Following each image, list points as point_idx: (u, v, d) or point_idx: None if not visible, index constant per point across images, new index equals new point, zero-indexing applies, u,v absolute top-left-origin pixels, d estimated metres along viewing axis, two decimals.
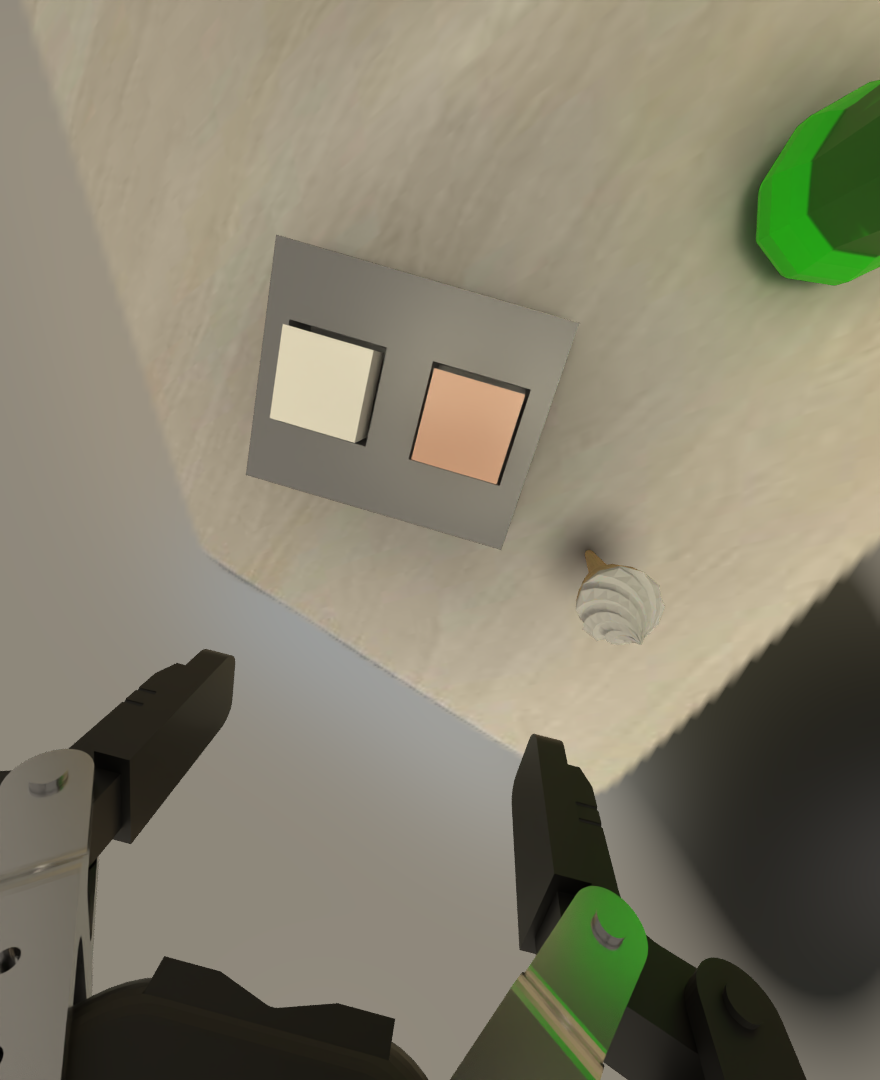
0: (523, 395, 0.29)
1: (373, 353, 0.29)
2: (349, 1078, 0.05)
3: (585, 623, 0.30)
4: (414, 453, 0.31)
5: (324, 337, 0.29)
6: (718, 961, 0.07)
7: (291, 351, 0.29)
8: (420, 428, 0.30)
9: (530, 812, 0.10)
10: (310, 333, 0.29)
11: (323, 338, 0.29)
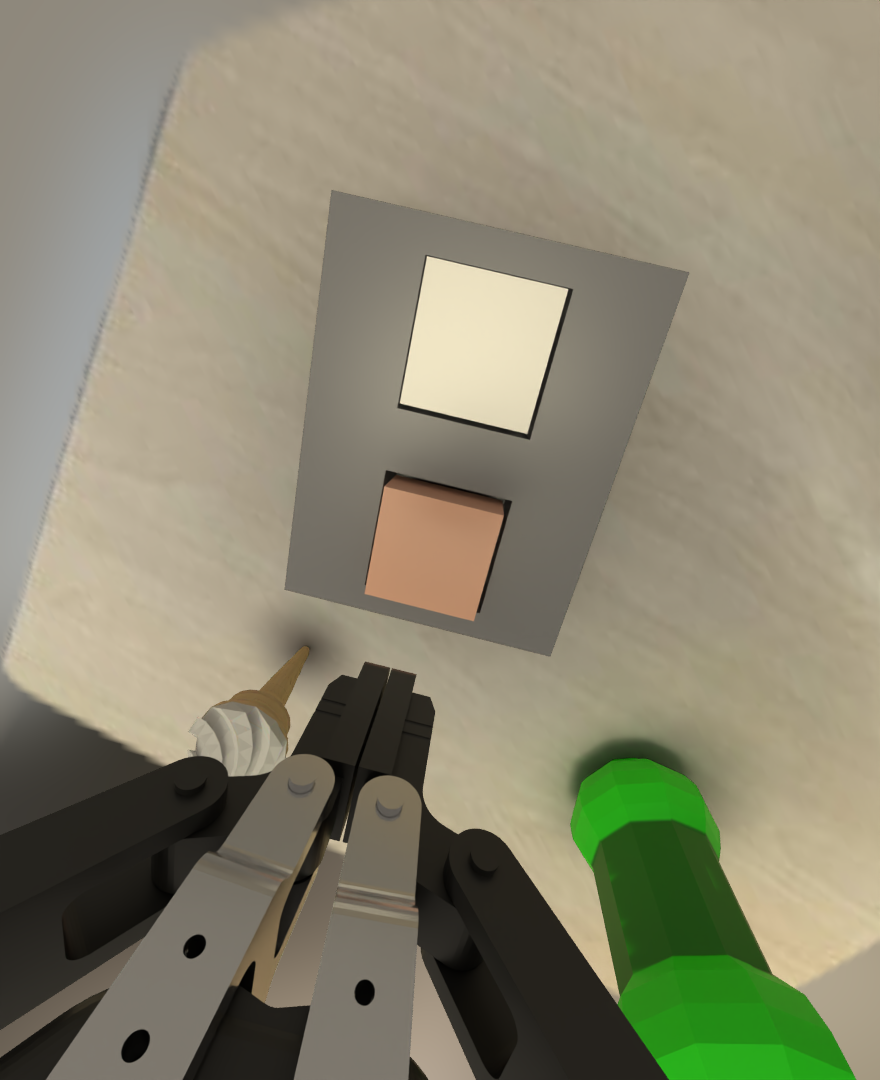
0: (472, 619, 0.24)
1: None
2: None
3: (204, 724, 0.24)
4: (392, 490, 0.22)
5: (546, 359, 0.20)
6: (461, 834, 0.08)
7: (528, 302, 0.19)
8: (426, 498, 0.22)
9: None
10: (552, 336, 0.19)
11: (544, 357, 0.20)
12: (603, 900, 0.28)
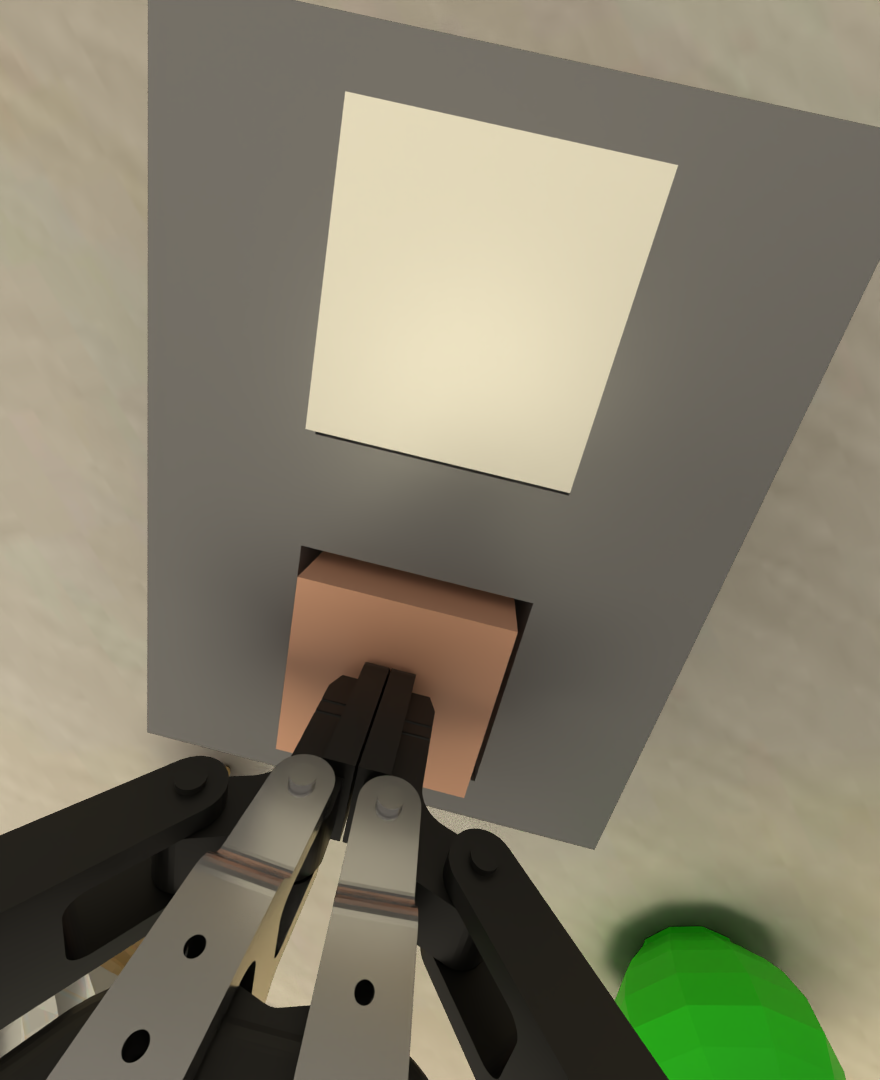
0: (462, 794, 0.14)
1: None
2: None
3: None
4: (313, 584, 0.12)
5: (617, 334, 0.09)
6: (461, 835, 0.08)
7: (583, 199, 0.08)
8: (375, 599, 0.12)
9: None
10: (634, 281, 0.09)
11: (614, 329, 0.09)
12: None
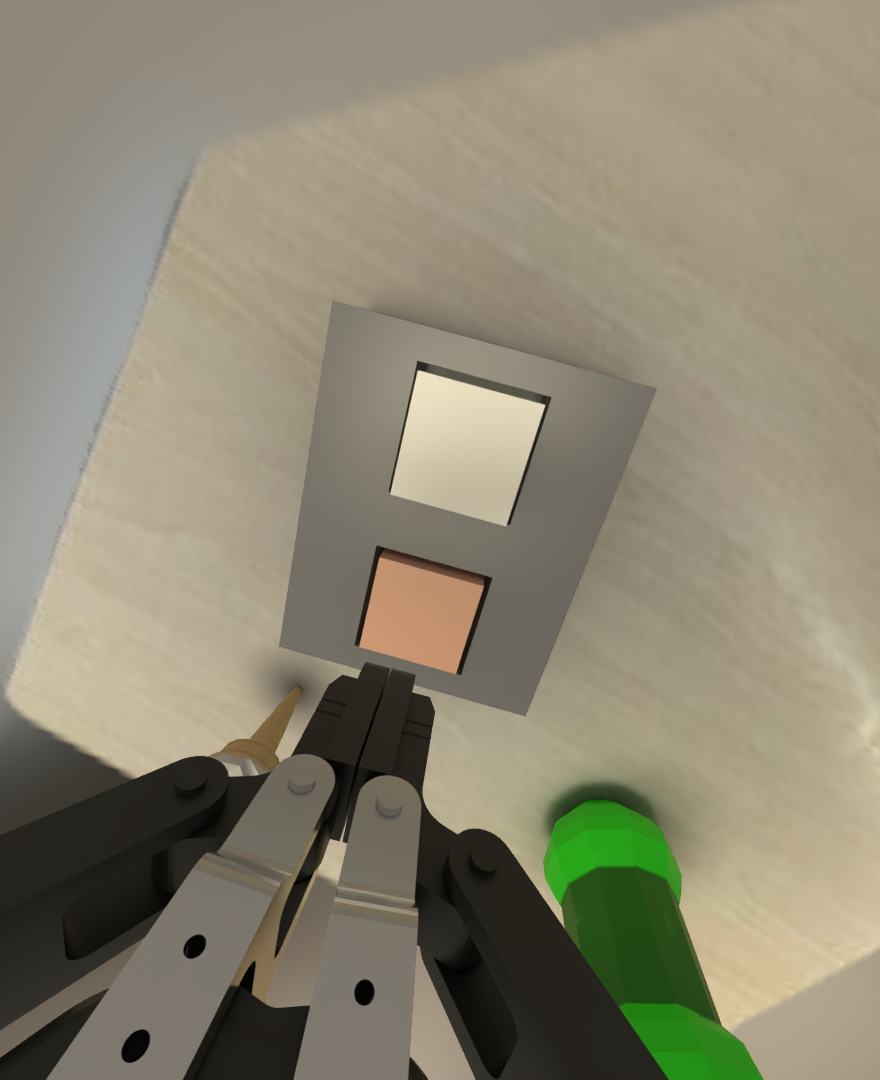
0: (454, 672, 0.27)
1: None
2: None
3: None
4: (386, 561, 0.25)
5: (524, 463, 0.22)
6: (461, 835, 0.08)
7: (509, 413, 0.21)
8: (416, 569, 0.25)
9: None
10: (530, 444, 0.21)
11: (523, 461, 0.22)
12: None
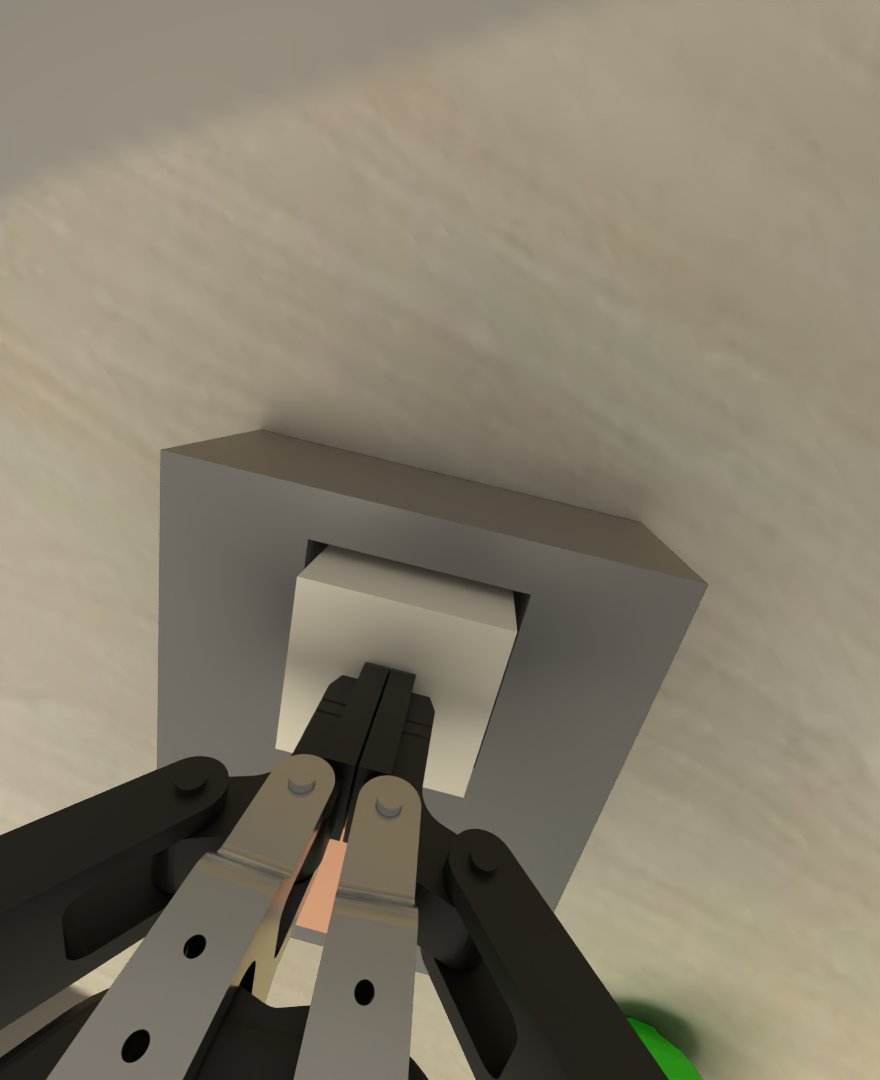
0: None
1: None
2: None
3: None
4: None
5: (487, 714, 0.13)
6: (461, 835, 0.08)
7: (457, 643, 0.12)
8: None
9: None
10: (495, 687, 0.13)
11: (484, 711, 0.13)
12: None
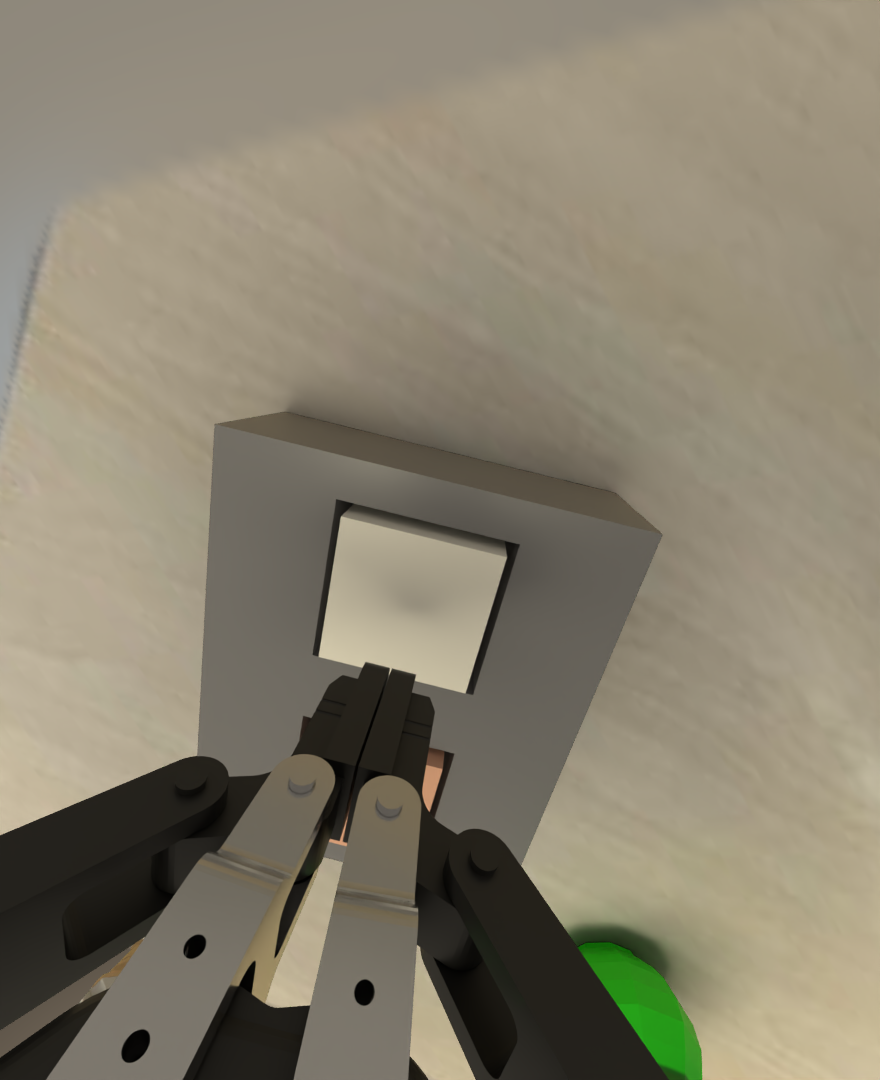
0: None
1: None
2: None
3: None
4: None
5: (484, 623, 0.17)
6: (461, 834, 0.08)
7: (461, 567, 0.16)
8: None
9: None
10: (490, 602, 0.17)
11: (482, 621, 0.17)
12: None
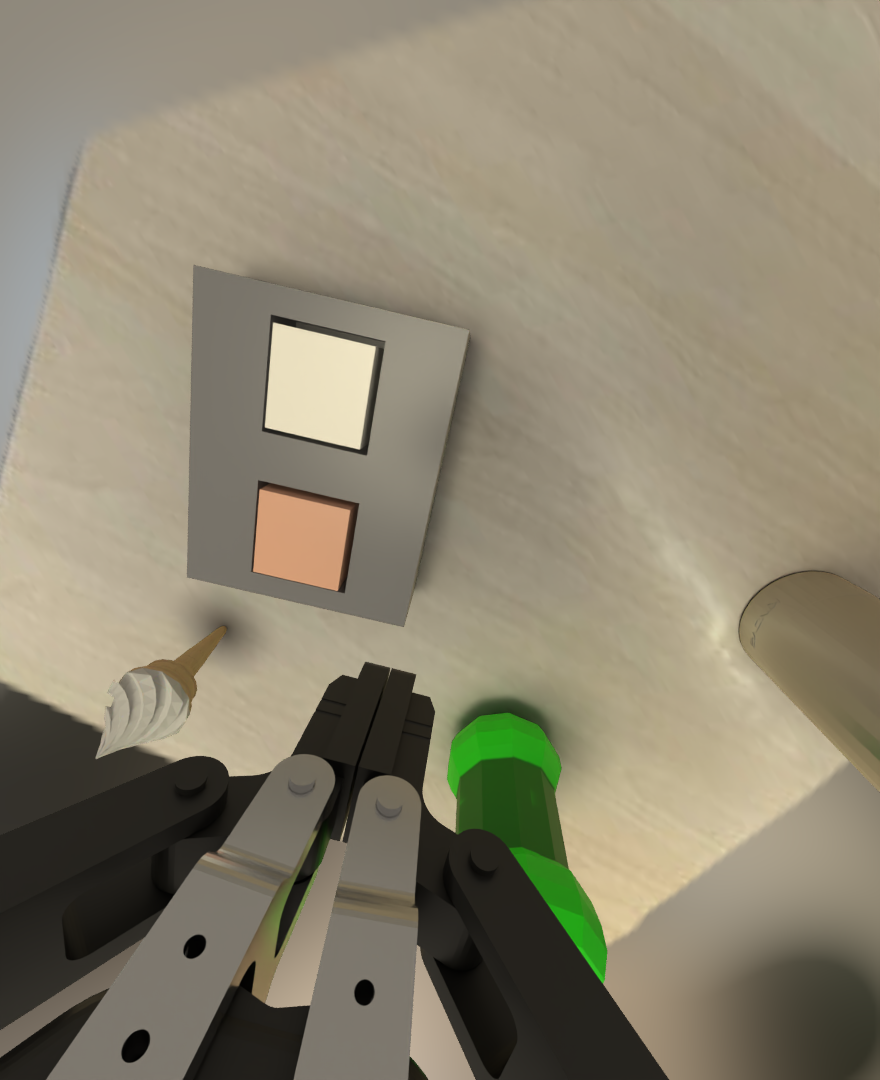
0: (336, 589, 0.32)
1: None
2: None
3: (117, 685, 0.30)
4: (266, 492, 0.30)
5: (366, 395, 0.27)
6: (461, 834, 0.08)
7: (349, 355, 0.26)
8: (292, 498, 0.30)
9: None
10: (369, 379, 0.27)
11: (365, 394, 0.27)
12: (456, 821, 0.35)
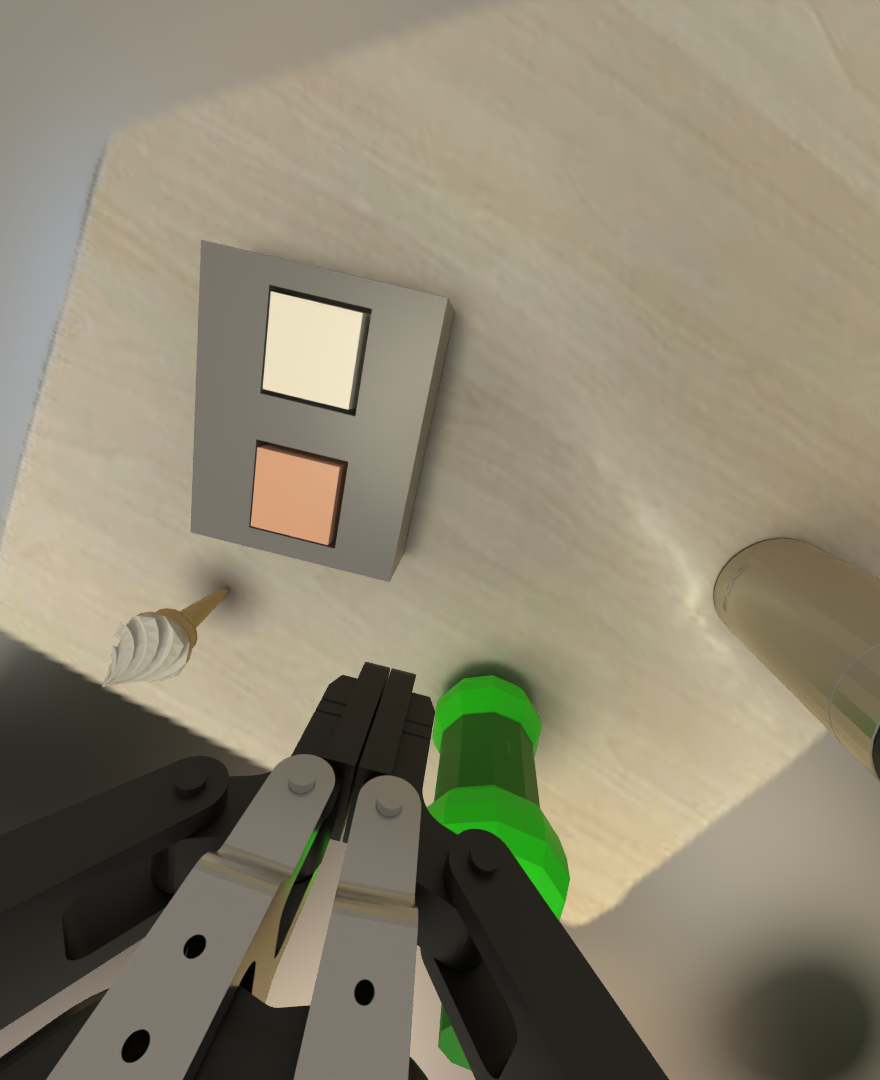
0: (327, 543, 0.34)
1: (346, 408, 0.31)
2: None
3: (124, 626, 0.33)
4: (263, 450, 0.32)
5: (354, 359, 0.30)
6: (461, 835, 0.08)
7: (339, 321, 0.29)
8: (286, 455, 0.32)
9: None
10: (356, 343, 0.29)
11: (353, 357, 0.30)
12: None
